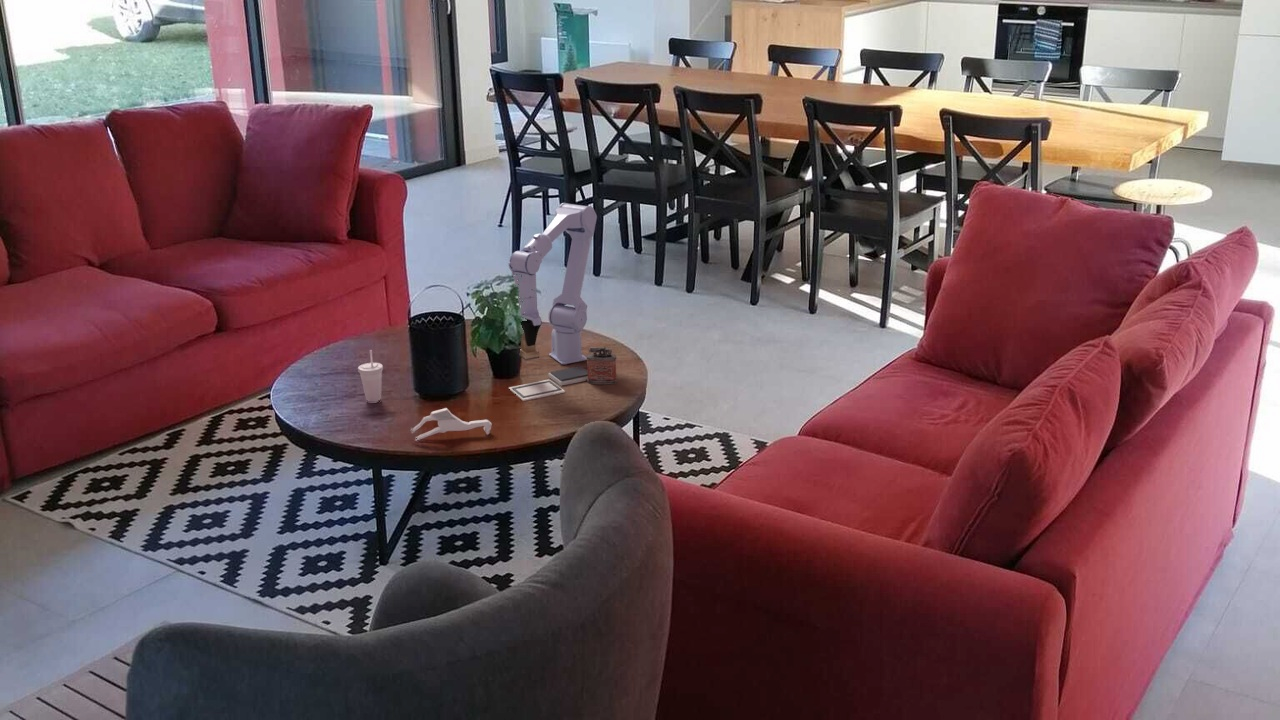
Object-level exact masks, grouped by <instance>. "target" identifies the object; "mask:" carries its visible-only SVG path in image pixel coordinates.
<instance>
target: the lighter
mask: <svg viewBox="0 0 1280 720" xmlns="http://www.w3.org/2000/svg"><path fill="white" fill-rule="evenodd" d="M612 349H613V348H612V347H605V345H602V346H600V347H597V346H590V347H589V348H588V353H589V354H587V355H586V358H587V360H586V361H587V362H586V364H587V371H588V378H587V381H586V382H587V383H588V384H592V385H593V384H595V385H614V384H617V381H618V378H617V355H616V354H612V353H613V352H612Z"/></svg>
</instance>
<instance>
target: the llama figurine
mask: <svg viewBox="0 0 1280 720" xmlns="http://www.w3.org/2000/svg"><path fill="white" fill-rule="evenodd" d="M430 421H437V427H434V428H433V429H431V430H429V431H426V432H424V433H421V434H419V435H417V436H415V437H414V438H415V439H414V441H416V442H418V441H417V440H419V441H420V440H422V439H425V438H427V437H430V436H432V435H435V434H438V433H441V434H442V433H444V434H445V433H447V432H455V431H456V432H460V431H461V432H463V431H467V430H472V429H475V428H480V427H483V431H484V432H485V433H486V435H487V436H488V435H489V434H490V432H491V430H492V422H491V421H490V420H489V419H481V420H480V419H478V420H471V421H469V422H468V421H464V420H462V419H460V418H459V417H457V416H456V415H455V414H453V413H452V412H451V411H450V410H449V409H448V408H447V407H444V408H442V409H437V410H433V411H431V412H430V415H427V416H423V417H422V419H421V420H420V422H418V424H416V425H415V426H414V427H411V428H410V433H411V434H415V432H416V431H417V430H418V429H420V428H421V427H422V426H423V425H424V424H425V423H426V422H430ZM416 438H417V439H416Z"/></svg>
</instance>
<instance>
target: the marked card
mask: <svg viewBox="0 0 1280 720" xmlns="http://www.w3.org/2000/svg"><path fill="white" fill-rule="evenodd" d="M509 389H510V390H509ZM508 390H509V391H511V392H512V394H514V395H515V394H516V395H515V396H517V398H519V399H520V400H522V401H523V402H525V401H530V400H535V399H536V400H537V399H541V398H544V397H551V396H555V395H559V394H565V393H566V390H564V388H561V386H560V385H559V384H557V383H556V382H555V381H553V380H552V379H551V378H549V379H544V380H539V381H535V382H529V383H525V384H520V385H514V386H508Z"/></svg>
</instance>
